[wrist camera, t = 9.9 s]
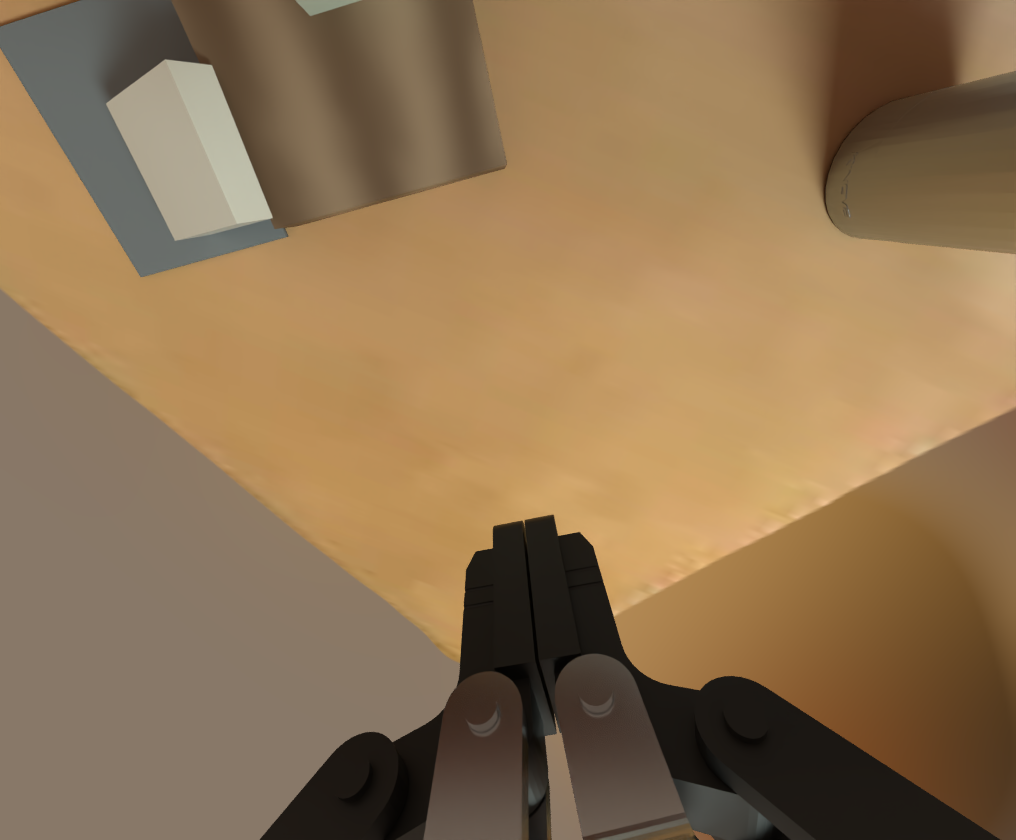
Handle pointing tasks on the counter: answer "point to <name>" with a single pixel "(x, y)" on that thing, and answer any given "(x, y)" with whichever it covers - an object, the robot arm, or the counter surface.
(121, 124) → the cream tile
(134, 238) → the grey mat
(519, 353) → the counter surface
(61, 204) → the counter surface
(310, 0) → the sage tile
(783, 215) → the counter surface
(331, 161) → the walnut board
